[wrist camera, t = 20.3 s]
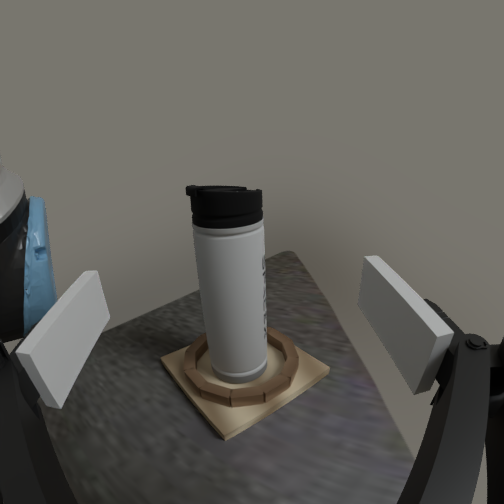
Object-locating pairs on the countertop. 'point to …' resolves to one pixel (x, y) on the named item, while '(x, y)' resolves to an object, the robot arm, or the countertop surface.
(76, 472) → the countertop surface
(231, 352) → the travel mug
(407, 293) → the robot arm
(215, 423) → the mug stand
